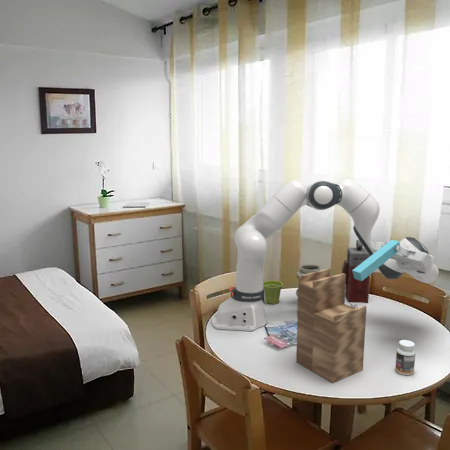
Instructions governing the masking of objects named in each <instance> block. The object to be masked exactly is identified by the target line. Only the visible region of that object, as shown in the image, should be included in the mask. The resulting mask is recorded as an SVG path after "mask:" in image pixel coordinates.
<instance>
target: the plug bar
mask: <svg viewBox="0 0 450 450" xmlns="http://www.w3.org/2000/svg"><path fill="white" fill-rule="evenodd" d="M386 243H387V244H385V245H384V246H383V247H381V248H380V249H379V250H378V251H376V252H375V253H374V254H373V255H371V256H370V257H369V258H367V259H366V260H365V261H364V262H362V263H361V264H360V265H359V266H357V267H356V268H355V269H353V270H352V272H353V276H354V279H357V280H360V281H363V280H364V279H365V278H366V277H368V276H369V275H371V274H373V273H374V272H375V271H376V270H377V269H378V268H379V267H380V266H381V265H382V264H384V263H385V262H386V261H387V260H389V259H390V258H391V257H392V256H393V255H395V254H396V253H397V251H395V250H394V248H395V245H398V246H400V241H398V240H395V239H391V240H389V241H388V242H386Z"/></svg>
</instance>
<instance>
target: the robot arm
mask: <svg viewBox="0 0 450 450" xmlns="http://www.w3.org/2000/svg"><path fill="white" fill-rule="evenodd" d="M335 205H338V206H340V207H341V208H343V210H345V211H346V213H348V216H350V217H351V219H352V221H353V227H352V229H353V232H354V234H355V236H356V237H357V240H360V242H361V243H362V245H363V248H365V249H366V250H367V252H368V253H369V255H370V256H371V255H373V254H374V253H375V252H376V251H378V250H379V249H380V248H381V247H383V246H384V245H385V244H387V243H388V242H381V241H376V243H375V242H374V240H373V238H372V235H371V233H372V230H373V228H374V226H375V224H376V222H377V221H378V218H379V215H380V210H381V209H380V208H381V207H380V204H379V202H378V201H377V200H376V198H375V197H374V196H373V195H372V194H371V193H370V192H369V191H368V190H367V189H366V188H365V187H363V186H362V185H361V184H359V183H358V182H357V181H355V180H353V179H352V178H345V179H343V180H340V181H339V182H338V183H333V182H330V181H325V180H321V181H320V180H319V181H316V182H315V181H314V183H312V184H310V185H305V184H304V183H302V182H301V181H299V180H298V179H291V180H289V181H288V182H286V183H285V184H283V185H282V186H281V187H280V188H279V189H278V190H277V191H276V192H275V193H274V194H273V195H271V197H270V198H269V199H268V201H266V202H265V204H264V205H263V206H261V208H260V209H259V210H258V211H256V213H255V214H253V215H252V216H251V217H250V218H249V219H248V220H247V221H245V222H244V223H243V224H242V225H241V226H239V227H238V228H237V229H236V230H235V233H234V237H233V238H234V239H233V240H234V243H235V245H236V249H237V257H236V258H237V259H236V267H235V287H234V286H230V287H229V292H230V296H229V298H227V299H226V300H224V301H223V302H222V303H220V304H219V305H218V308H217V312H216V313H215V314H214V315H212V317H211V325H212V327H213V328H214V329H216V330H230V331H243V332H244V331H246V332H254V331H256V330H257V329H260V328H262V327H264V326H266V325H267V323H268V319H267V316H266V313H265V291H264V288H263V282H265V281H264V275H265V274H264V271H265V262H266V256H267V249H268V247H267V246H268V245H267V239H268V238H269V237H271V236H272V235H273V234H275V233H277V232H278V231H280V230H282V228H283V227H284V226H285V225H286V224H287V223H288V222H289V221H290V219H291V218H292V217H293V216H294V215H295V214H296V213H297V211H298V210H300V209H301V208H302V207H304V206H308V207H309V208H312V209H314V210H315V211H316V210H317V211H325V210H328V209H330V208H332V207H333V206H335ZM399 242H400V246H398V245H395V248H394V250H395V251H397V253H396V254H395V255H393V256H392V257H391V258H390V259H389V260H387V261H386V262H385V263H384V264H382V265H381V266H380V267H379V268H377V269H378V271H379V272H380V274H381V275H382V276H383V277H384V278H386V279H387V280H398V279H400V277H401V276H402V275H404V273H406V274H408V275H410V277H412V278H413V279H415V280H417V281H418V282H422V283H424V284H425V283H426V284H430V283H432V282H434V281H435V280H436V279H437V278H438V277H439V273H440V271H439V268H438V266H437V265H436V264H435V259H436V257H435V256H434V255H432V254H429V250H428V249H427V247H426V246H425V245H424V244H423V243H421V242H420V240H417V239H416V238H415V237H411V236H405V237H404V238H402V239H401V240H400V241H399ZM265 324H266V325H265Z"/></svg>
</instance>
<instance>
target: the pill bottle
mask: <svg viewBox="0 0 450 450" xmlns="http://www.w3.org/2000/svg"><path fill="white" fill-rule="evenodd" d="M415 346H416V344H415V342H413V341H412V340H407V339H402V340H399V342H398V347H397V348H396V355H395V356H396V357H395V371H396V372H397V373H398V374H400V375H403V376H404V375H405V376H410V375H413V374H414V371H415V364H416V363H415V362H416V350H415V348H416V347H415Z"/></svg>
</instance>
